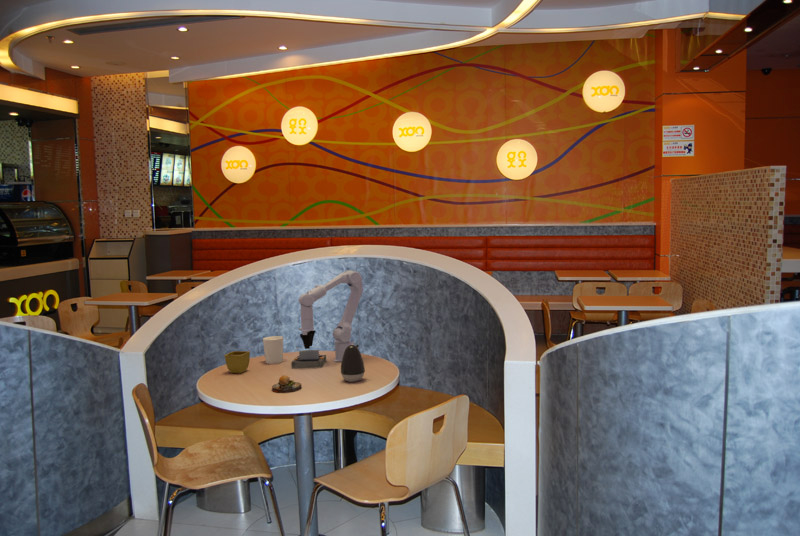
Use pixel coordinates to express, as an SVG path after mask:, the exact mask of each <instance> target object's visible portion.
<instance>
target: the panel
mask: <svg viewBox="0 0 800 536" xmlns="http://www.w3.org/2000/svg"><path fill="white" fill-rule="evenodd" d="M319 355H320V351H319V349H305V350H301V349H300V350H299V352H298V356H299V358H300V359H319Z"/></svg>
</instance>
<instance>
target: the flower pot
mask: <svg viewBox="0 0 800 536" xmlns="http://www.w3.org/2000/svg"><path fill="white" fill-rule="evenodd" d="M250 354H251V351H249V350H247V351H246V350H243V351H242V350H241V351H239V350H235V351H234V350H233V351H230V352H228V353H226V354H224V355H223V356H224V360H225V364H226V367H227V370H228V371H229V372H230V373H231V374H241V373H244V372H246V371H247V370H248V367H249V364H250V360H251V359H250V357H251V355H250Z"/></svg>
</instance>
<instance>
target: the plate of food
mask: <svg viewBox="0 0 800 536" xmlns="http://www.w3.org/2000/svg"><path fill="white" fill-rule="evenodd" d="M301 389H302V383H300V382H297V381H294V380H291V378H290V376H288V375H286V374H285V375H281V376H280V377H279V379H278V382H277V383H276V384H273V385H272V386H271V390H272V392H274V393H276V394H287V393H294V392H298V391H300V390H301Z"/></svg>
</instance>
